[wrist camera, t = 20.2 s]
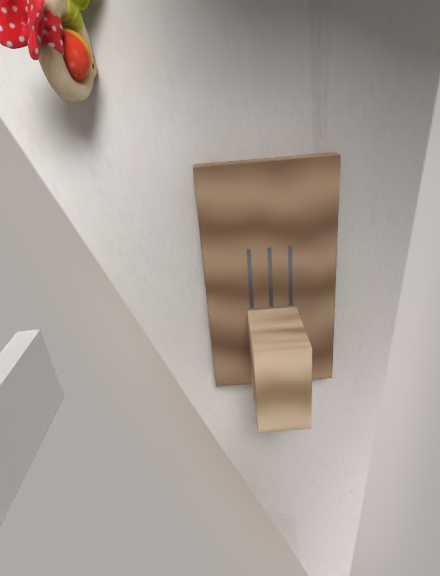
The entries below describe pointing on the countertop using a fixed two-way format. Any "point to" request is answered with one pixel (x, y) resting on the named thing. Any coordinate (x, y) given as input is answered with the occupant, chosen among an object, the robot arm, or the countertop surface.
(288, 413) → the block
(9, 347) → the robot arm
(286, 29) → the countertop surface
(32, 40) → the bird rattle
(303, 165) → the walnut board
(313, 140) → the countertop surface
